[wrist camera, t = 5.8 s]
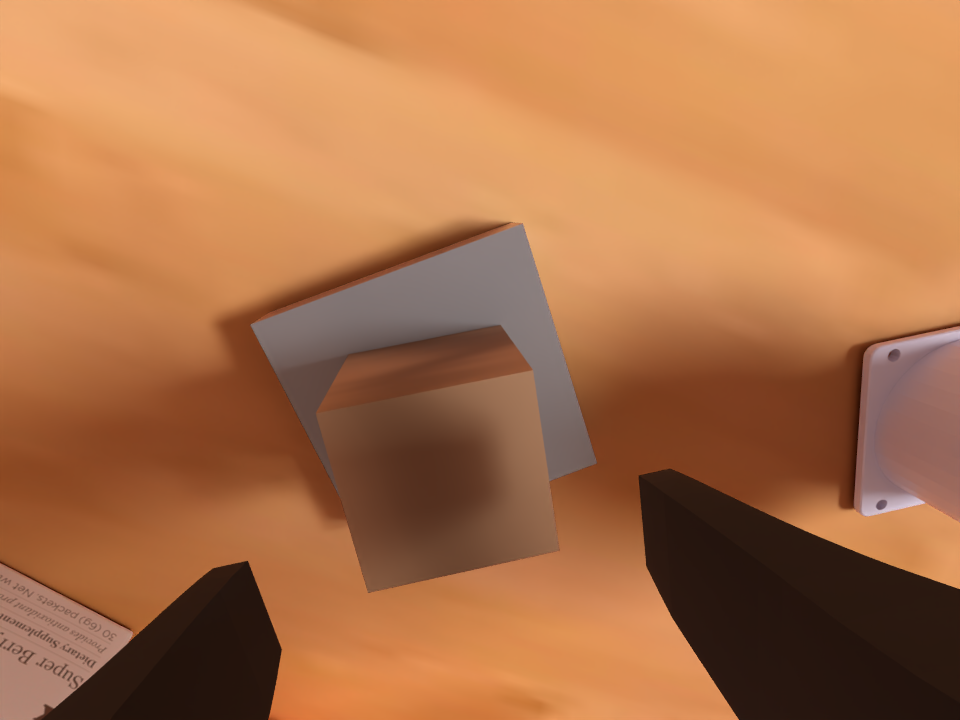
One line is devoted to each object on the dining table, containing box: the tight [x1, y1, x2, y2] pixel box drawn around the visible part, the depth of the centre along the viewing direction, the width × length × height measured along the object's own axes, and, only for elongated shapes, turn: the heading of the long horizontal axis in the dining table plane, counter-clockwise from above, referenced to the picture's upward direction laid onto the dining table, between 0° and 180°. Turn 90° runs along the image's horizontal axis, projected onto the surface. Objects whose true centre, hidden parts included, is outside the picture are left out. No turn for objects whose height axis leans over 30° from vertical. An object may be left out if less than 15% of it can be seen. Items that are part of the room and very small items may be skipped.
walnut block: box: [316, 325, 560, 593], centre depth 14 cm, size 5×5×5 cm
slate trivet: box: [250, 222, 597, 497], centre depth 18 cm, size 9×9×2 cm
